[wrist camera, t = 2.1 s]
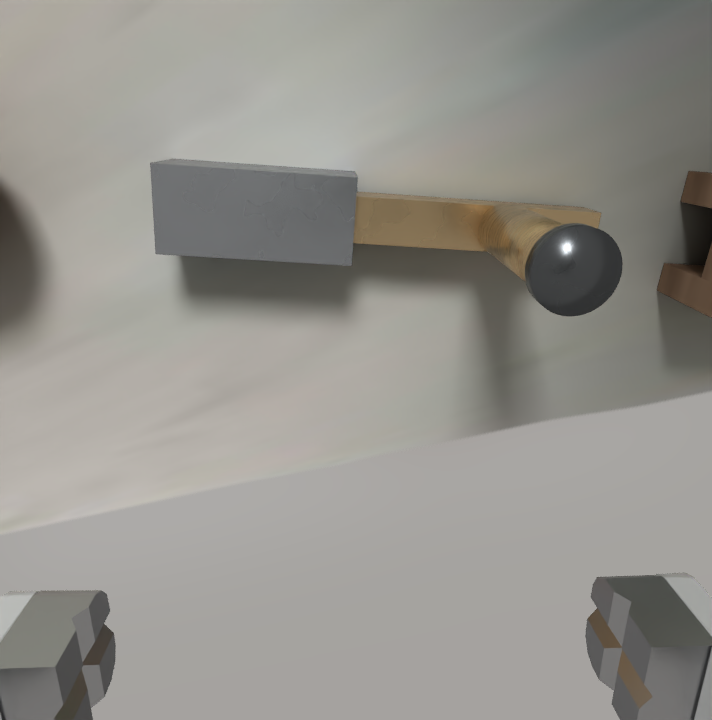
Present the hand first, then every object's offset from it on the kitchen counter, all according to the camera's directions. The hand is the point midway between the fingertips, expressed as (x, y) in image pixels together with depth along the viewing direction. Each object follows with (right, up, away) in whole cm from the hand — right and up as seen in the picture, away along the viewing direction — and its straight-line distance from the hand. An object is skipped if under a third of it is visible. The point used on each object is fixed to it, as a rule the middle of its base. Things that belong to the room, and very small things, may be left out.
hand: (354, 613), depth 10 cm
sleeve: (-5, +13, +23) cm, 27 cm away
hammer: (+2, +12, +23) cm, 26 cm away
